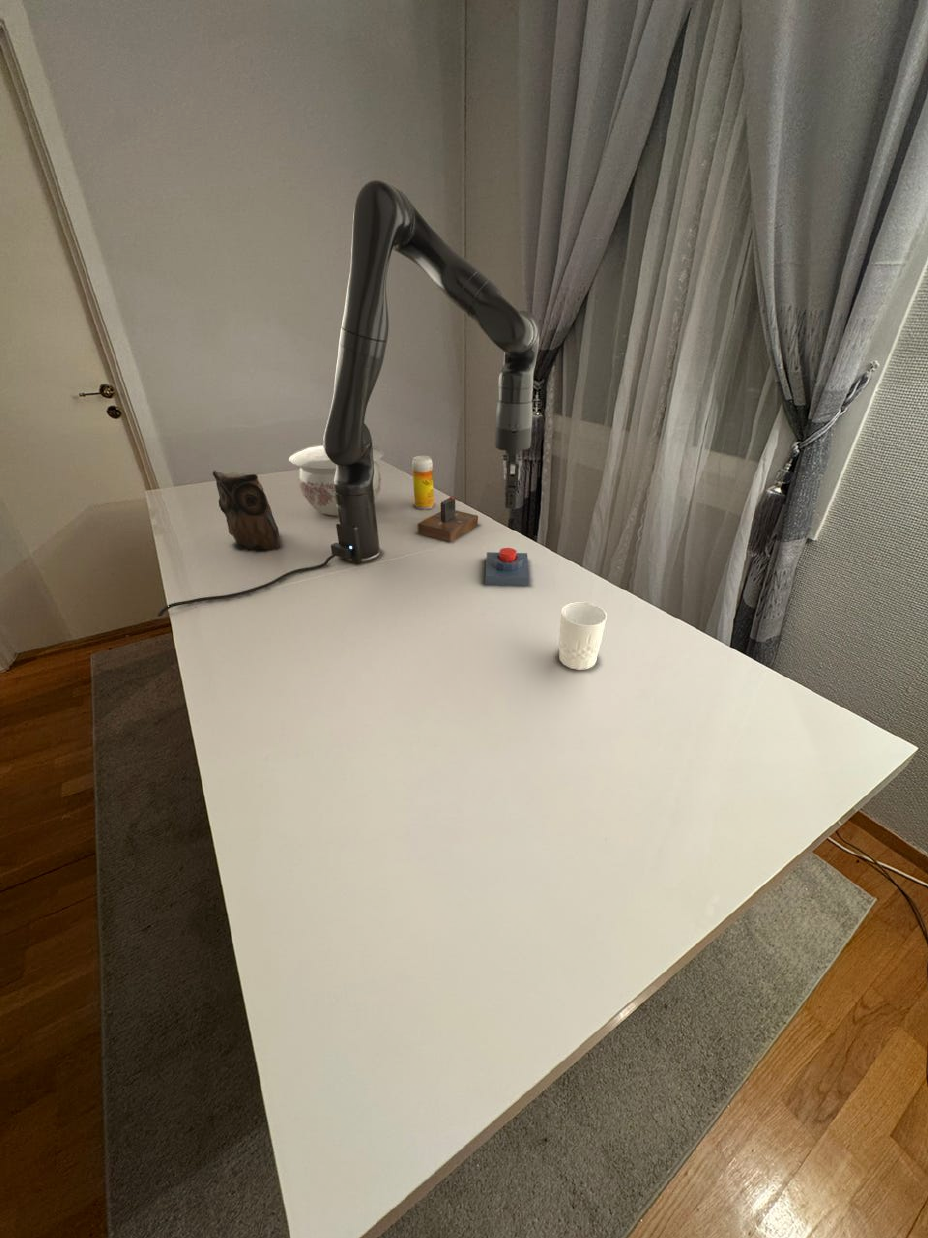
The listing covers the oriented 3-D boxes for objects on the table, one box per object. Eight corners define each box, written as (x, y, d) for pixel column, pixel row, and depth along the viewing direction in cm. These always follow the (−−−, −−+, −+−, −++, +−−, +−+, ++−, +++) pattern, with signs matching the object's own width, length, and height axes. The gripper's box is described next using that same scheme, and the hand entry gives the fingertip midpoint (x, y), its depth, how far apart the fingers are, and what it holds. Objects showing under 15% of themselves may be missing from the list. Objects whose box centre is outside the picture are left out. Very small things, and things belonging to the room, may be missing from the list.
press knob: (516, 563, 121) (516, 555, 120) (499, 562, 121) (499, 554, 120) (515, 555, 125) (516, 547, 124) (499, 555, 125) (499, 547, 124)
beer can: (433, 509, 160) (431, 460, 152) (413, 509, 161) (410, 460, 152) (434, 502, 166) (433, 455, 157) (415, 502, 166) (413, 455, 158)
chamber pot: (381, 525, 150) (374, 452, 139) (287, 525, 150) (272, 452, 139) (393, 493, 173) (388, 428, 162) (312, 492, 174) (301, 428, 163)
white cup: (601, 651, 98) (609, 606, 92) (596, 676, 92) (604, 629, 86) (559, 643, 100) (565, 598, 95) (552, 667, 94) (557, 621, 88)
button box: (528, 586, 119) (529, 570, 117) (485, 584, 120) (485, 569, 118) (526, 561, 130) (527, 546, 128) (486, 560, 131) (487, 545, 129)
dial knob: (445, 522, 144) (445, 502, 141) (440, 521, 144) (440, 501, 141) (455, 516, 147) (455, 497, 144) (451, 515, 148) (450, 496, 145)
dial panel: (450, 542, 140) (450, 531, 138) (418, 533, 145) (417, 522, 143) (477, 525, 150) (478, 515, 148) (446, 517, 155) (446, 507, 153)
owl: (283, 549, 136) (267, 474, 125) (232, 558, 132) (210, 481, 121) (276, 532, 146) (261, 460, 135) (229, 540, 142) (209, 466, 131)
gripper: (495, 416, 113) (493, 491, 122) (495, 431, 101) (492, 513, 110) (530, 416, 112) (525, 491, 121) (533, 432, 100) (528, 514, 109)
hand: (510, 502), depth 116 cm, fingers open, 6 cm apart
